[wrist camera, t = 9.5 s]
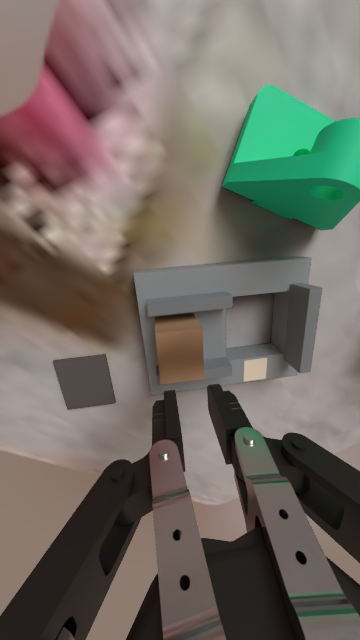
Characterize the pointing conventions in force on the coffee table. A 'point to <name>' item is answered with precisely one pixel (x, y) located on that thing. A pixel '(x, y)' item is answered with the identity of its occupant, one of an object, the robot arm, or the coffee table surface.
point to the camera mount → (296, 160)
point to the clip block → (179, 348)
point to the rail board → (210, 310)
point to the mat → (85, 381)
